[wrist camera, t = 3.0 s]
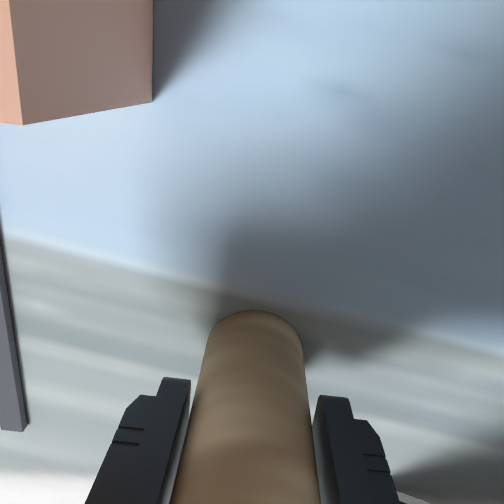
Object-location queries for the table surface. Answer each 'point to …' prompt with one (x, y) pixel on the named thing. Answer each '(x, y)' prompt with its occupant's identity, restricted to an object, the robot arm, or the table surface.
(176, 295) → the table surface
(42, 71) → the bead terracotta
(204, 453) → the rounded wooden dowel
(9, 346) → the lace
